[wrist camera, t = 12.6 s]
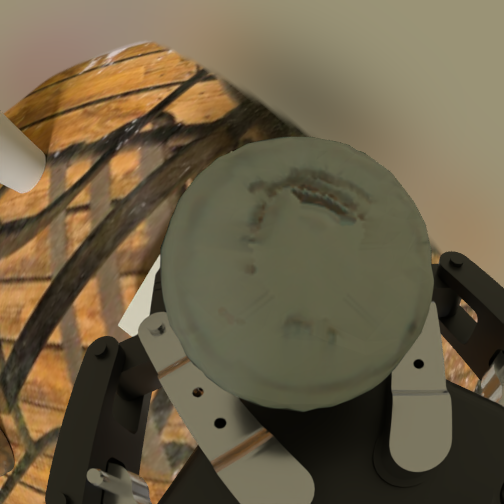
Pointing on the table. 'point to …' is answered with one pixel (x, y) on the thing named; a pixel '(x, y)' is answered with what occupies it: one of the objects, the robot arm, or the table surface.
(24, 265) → the table surface
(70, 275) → the table surface
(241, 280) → the sauce bottle
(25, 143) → the white coffee cup
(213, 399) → the robot arm
